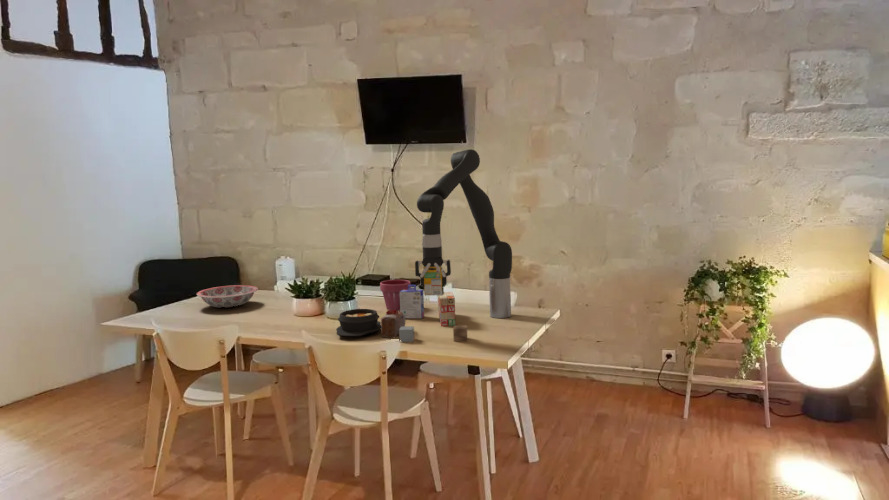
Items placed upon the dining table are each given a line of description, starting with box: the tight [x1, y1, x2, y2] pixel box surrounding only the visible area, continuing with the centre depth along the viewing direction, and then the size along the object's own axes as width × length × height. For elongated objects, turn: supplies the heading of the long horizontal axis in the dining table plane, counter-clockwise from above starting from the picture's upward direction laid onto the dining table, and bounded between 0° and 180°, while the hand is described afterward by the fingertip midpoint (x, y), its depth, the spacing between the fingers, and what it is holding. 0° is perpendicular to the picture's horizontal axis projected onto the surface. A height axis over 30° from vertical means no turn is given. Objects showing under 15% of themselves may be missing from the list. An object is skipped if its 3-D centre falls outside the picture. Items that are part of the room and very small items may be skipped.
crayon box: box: [423, 266, 445, 296], centre depth 272 cm, size 7×3×12 cm, turn 78°
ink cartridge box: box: [399, 284, 425, 319], centre depth 305 cm, size 10×6×14 cm, turn 78°
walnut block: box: [452, 325, 468, 342], centre depth 267 cm, size 5×5×5 cm
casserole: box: [335, 308, 381, 337], centre depth 283 cm, size 25×19×8 cm
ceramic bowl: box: [196, 284, 259, 308], centre depth 342 cm, size 29×29×8 cm
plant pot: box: [379, 279, 412, 311], centre depth 324 cm, size 14×14×13 cm
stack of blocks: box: [437, 291, 456, 327], centre depth 298 cm, size 21×6×12 cm, turn 3°
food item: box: [380, 310, 406, 338], centre depth 279 cm, size 14×8×10 cm, turn 171°
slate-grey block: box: [398, 325, 415, 343], centre depth 268 cm, size 5×5×5 cm
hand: (433, 286), depth 272 cm, fingers closed on crayon box, 7 cm apart
